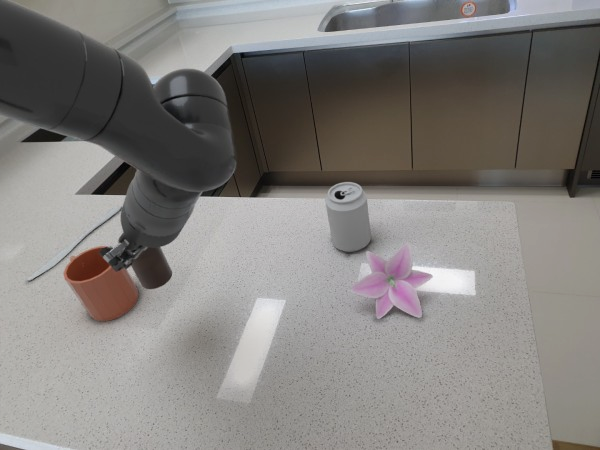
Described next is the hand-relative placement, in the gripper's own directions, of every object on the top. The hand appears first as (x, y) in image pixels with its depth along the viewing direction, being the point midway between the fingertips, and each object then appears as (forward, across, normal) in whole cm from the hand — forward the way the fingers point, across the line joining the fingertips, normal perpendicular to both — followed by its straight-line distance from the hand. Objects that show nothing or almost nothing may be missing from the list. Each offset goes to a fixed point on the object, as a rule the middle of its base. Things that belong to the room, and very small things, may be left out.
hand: (137, 251), depth 68 cm
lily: (-8, -22, +33) cm, 41 cm away
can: (+2, -32, +23) cm, 40 cm away
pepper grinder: (+2, 0, +5) cm, 5 cm away
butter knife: (+42, -6, -17) cm, 46 cm away
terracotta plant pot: (+26, +2, 0) cm, 26 cm away
